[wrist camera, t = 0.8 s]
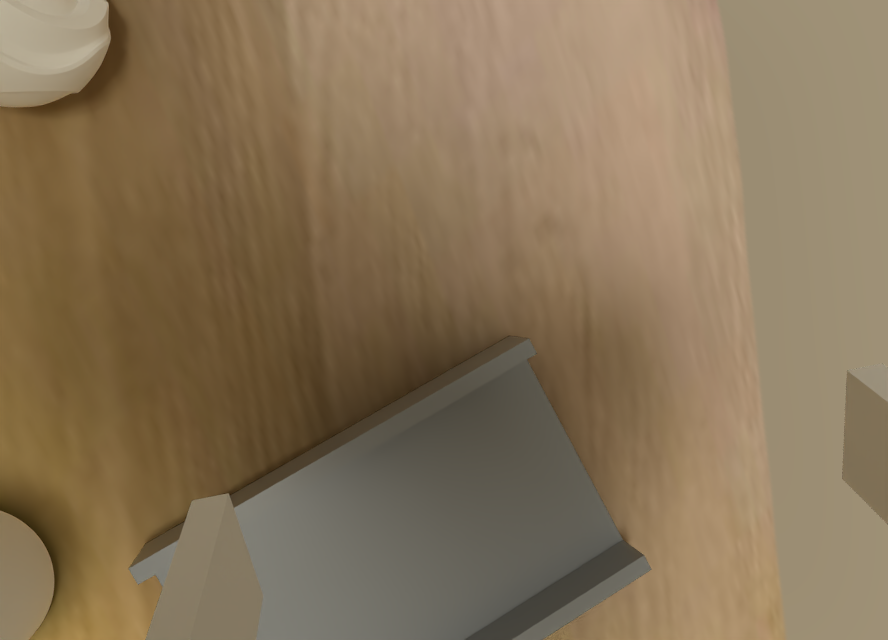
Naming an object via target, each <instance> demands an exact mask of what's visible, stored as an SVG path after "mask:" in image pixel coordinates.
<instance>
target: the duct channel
mask: <svg viewBox="0 0 888 640" xmlns="http://www.w3.org/2000/svg"><path fill="white" fill-rule="evenodd" d="M536 354H537V353H536V351H535V349H534V347H533V345H532V343H531V341H530V339H529V338H522V337H515V336H508V337H506V338H505V339H503V340H501V341H499V342H498V343H496V344H494V345H492V346H491V347H489V348H487V349H485V350H484V351H482V352H480V353H478V354H477V355H475V356H473V357H471V358H470V359H468V360H466V361H464V362H463V363H461V364H459V365H457V366H456V367H454V368H452V369H450V370H449V371H447V372H445V373H443V374H442V375H440V376H438V377H436V378H435V379H433V380H431V381H429V382H428V383H426V384H424V385H422V386H421V387H419V388H417V389H415V390H414V391H412V392H410V393H408V394H407V395H405V396H403V397H401V398H400V399H398V400H396V401H394V402H393V403H391V404H389V405H387V406H386V407H384V408H382V409H380V410H379V411H377V412H375V413H373V414H372V415H370V416H368V417H366V418H365V419H363V420H361V421H359V422H358V423H356V424H354V425H352V426H351V427H349V428H347V429H345V430H344V431H342V432H340V433H339V434H337V435H335V436H333V437H332V438H330V439H328V440H326V441H325V442H323V443H321V444H319V445H318V446H316V447H314V448H312V449H311V450H309V451H307V452H305V453H304V454H302V455H300V456H298V457H297V458H295V459H293V460H291V461H290V462H288V463H286V464H284V465H283V466H281V467H279V468H277V469H276V470H274V471H272V472H270V473H269V474H267V475H265V476H263V477H262V478H260V479H258V480H256V481H255V482H253V483H251V484H249V485H248V486H246V487H244V488H242V489H241V490H239V491H237V492H235V493H234V494H232V495H230V498H231V501H232V504H233V507H234V510H235V513H236V516H237V519H238V522H239V525H240V528H241V531H242V534H243V537H244V540H245V543H246V546H247V549H248V552H249V555H250V558H251V561H252V564H253V567H254V570H255V573H256V576H257V579H258V582H259V585H260V587H261V590H262V593H263V600H262V606H261V613H260V619H259V625H258V631H257V637H256V640H543V639H544V638H546V637H547V636H549V635H550V634H552V633H553V632H555V631H557V630H558V629H560V628H561V627H563V626H564V625H566V624H568V623H569V622H571V621H572V620H574V619H575V618H577V617H578V616H580V615H582V614H583V613H585V612H586V611H588V610H589V609H591V608H592V607H594V606H596V605H597V604H599V603H600V602H602V601H603V600H605V599H606V598H608V597H610V596H611V595H613V594H614V593H616V592H617V591H619V590H620V589H622V588H624V587H625V586H627V585H628V584H630V583H631V582H633V581H634V580H636V579H638V578H639V577H641V576H642V575H644V574H645V573H647V572H648V571H650V570H652V569H651V567H650V566H649V564H648V562H647V560H646V558H645V556H644V555H643V554H642V553H640V552H639V551H638V550H636V549H635V548H633V547H632V546H631V545H629V544H628V543H627V542H625V541H624V540H623V539H622V537H621V535H620V533H619V531H618V530H617V528H616V526H615V524H614V522H613V520H612V518H611V516H610V515H609V513H608V511H607V509H606V507H605V505H604V503H603V501H602V500H601V498H600V496H599V494H598V492H597V490H596V488H595V486H594V485H593V483H592V481H591V479H590V477H589V475H588V473H587V471H586V469H585V468H584V466H583V464H582V462H581V460H580V458H579V456H578V454H577V453H576V451H575V449H574V447H573V445H572V443H571V441H570V439H569V438H568V436H567V434H566V432H565V430H564V428H563V426H562V424H561V423H560V421H559V419H558V417H557V415H556V413H555V411H554V409H553V408H552V406H551V404H550V402H549V400H548V398H547V396H546V394H545V392H544V391H543V389H542V387H541V385H540V383H539V381H538V379H537V377H536V376H535V374H534V372H533V370H532V368H531V366H530V364H529V362H528V361H527V359H529V358H530V357H532V356H534V355H536ZM184 523H185V522H183V523H181V524H179V525H178V526H176V527H174V528H172V529H171V530H169V531H167V532H165V533H164V534H162V535H160V536H158V537H157V538H155V539H153V540H151V541H150V542H148V543H146V544H145V545H144V547H143V548H142V549H141V551H140V552H139V554H138V555H137V557H136V558H135V560H134V561H133V563H132V564H131V566H130V567H129V570H130V572H131V574H132V575H133V577H134V579H135V580H136V582H137V584H140V583H142V582H143V581H145V580H147V579H149V578H150V577H152V576H154V575H156V577H157V578H158V580H159V582H160V583H161V585H162V586H164V583H165V580H166V577H167V574H168V571H169V568H170V565H171V562H172V559H173V556H174V553H175V550H176V547H177V544H178V541H179V538H180V535H181V532H182V529H183V526H184Z"/></svg>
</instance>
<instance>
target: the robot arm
mask: <svg viewBox="0 0 888 640" xmlns="http://www.w3.org/2000/svg"><path fill="white" fill-rule="evenodd" d="M843 451H844V452H843V472H842V479H843V480H844V481H845V482H846V483H847V484H848V485H849V486H850V487H851V488H852V489H853V490H854V491H855V492H856V493H857V494H858V495H859V496H860V497H861V498H862V499H863V500H864V501H865V502H866V503H867V504H868V505H869V506H870V507H871V508H872V509H873V510H874V511H875V512H876V513H877V514H878V515H879V516H880V517H881V518H882V519H883V520H884V521H885V522H886V523H887V524H888V367H887V366H885V365H884V364H877V365H872V366H867V367H862V368H857V369H852V370H847V382H846V404H845V426H844V450H843ZM262 600H263V593H262V590H261V587H260V585H259V582H258V579H257V576H256V573H255V570H254V567H253V564H252V561H251V558H250V555H249V552H248V549H247V546H246V543H245V540H244V537H243V534H242V531H241V528H240V525H239V522H238V519H237V516H236V513H235V510H234V507H233V504H232V501H231V498H230V495H229V493H227V494H222V495H217V496H212V497H207V498H202V499H197V500H192V502H191V505H190V508H189V511H188V514H187V517H186V520H185V523H184V526H183V529H182V532H181V535H180V538H179V541H178V544H177V547H176V550H175V553H174V556H173V559H172V562H171V565H170V568H169V571H168V574H167V577H166V580H165V583H164V586H163V589H162V591H161V594H160V597H159V600H158V603H157V606H156V609H155V612H154V615H153V618H152V621H151V624H150V627H149V630H148V633H147V636H146V639H145V640H256V637H257V631H258V625H259V619H260V613H261V606H262Z"/></svg>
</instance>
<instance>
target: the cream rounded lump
mask: <svg viewBox="0 0 888 640" xmlns="http://www.w3.org/2000/svg"><path fill="white" fill-rule="evenodd" d="M108 18H109V4H108V2H107V1H106V0H0V106H3V107H33V106H40V105H44V104H48V103H51V102H53V101H56V100H58V99H61V98H63V97H65V96H67V95H69V94H71V93H79V92H80V91H81V90H82V89H83V88H84V87H85V86H86V85H87V84H88V82H89V81H90V80H91V79H92V77H93V76H94V75H95V73H96V72H97V70H98V69H99V67H100V66H101V64H102V62H103V60H104V57H105V55H106V53H107V50H108V47H109V44H110V41H111V34H110V30H109V27H108Z"/></svg>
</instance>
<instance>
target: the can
mask: <svg viewBox="0 0 888 640" xmlns="http://www.w3.org/2000/svg"><path fill="white" fill-rule="evenodd" d="M53 592H54V571H53V565H52V562H51V558H50V556H49V553H48V551H47V549H46V547H45V545H44V544H43V542H42V541H41V539H40V538H39V537H38V535H37V534H36V533H35V532H34V531H33V530H32V529H31V528H30V527H29V526H28V525H26V524H25V523H24V522H22V521H21V520H19V519H18V518H16V517H14V516H12V515H10V514H8V513H5V512H3V511H0V640H29V639H30V638H31V636H32V635H33V634H34V633H35V632H36V630H37V629H38V628H39V626H40V625H41V623H42V622H43V620H44V618H45V617H46V615H47V612H48V610H49V608H50V605H51V602H52V598H53Z"/></svg>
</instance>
